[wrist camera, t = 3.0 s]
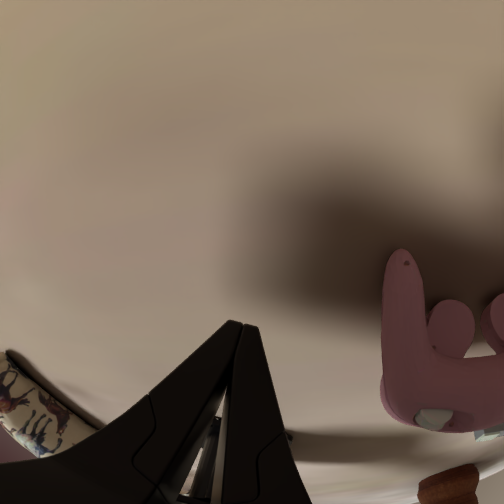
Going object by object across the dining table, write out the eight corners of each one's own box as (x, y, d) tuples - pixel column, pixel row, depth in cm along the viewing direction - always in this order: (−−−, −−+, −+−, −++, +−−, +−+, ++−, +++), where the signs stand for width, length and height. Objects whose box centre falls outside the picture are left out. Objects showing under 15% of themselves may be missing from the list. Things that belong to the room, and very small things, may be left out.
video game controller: (366, 294, 13) (368, 447, 9) (381, 237, 9) (394, 457, 6) (524, 280, 11) (544, 404, 7) (566, 232, 7) (601, 382, 3)
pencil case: (140, 449, 29) (115, 511, 21) (114, 449, 33) (91, 500, 24) (-3, 333, 23) (-48, 392, 14) (-6, 351, 26) (-41, 400, 18)
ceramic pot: (482, 474, 25) (485, 509, 19) (380, 498, 30) (377, 535, 24) (528, 425, 17) (539, 473, 11) (391, 465, 22) (390, 522, 16)
